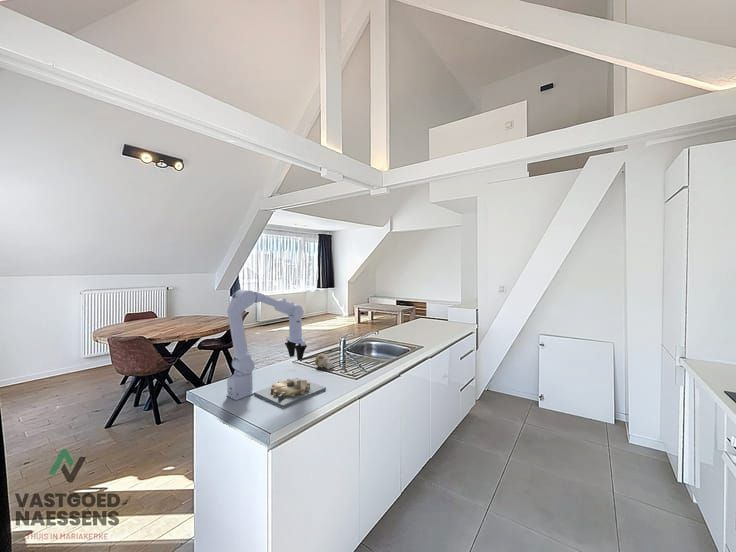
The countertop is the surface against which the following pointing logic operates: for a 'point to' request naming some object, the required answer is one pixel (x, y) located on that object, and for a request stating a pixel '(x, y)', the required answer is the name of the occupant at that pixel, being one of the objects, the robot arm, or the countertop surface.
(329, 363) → the beige rounded lump
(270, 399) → the base board
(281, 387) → the sprocket
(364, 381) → the countertop surface
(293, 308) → the robot arm
